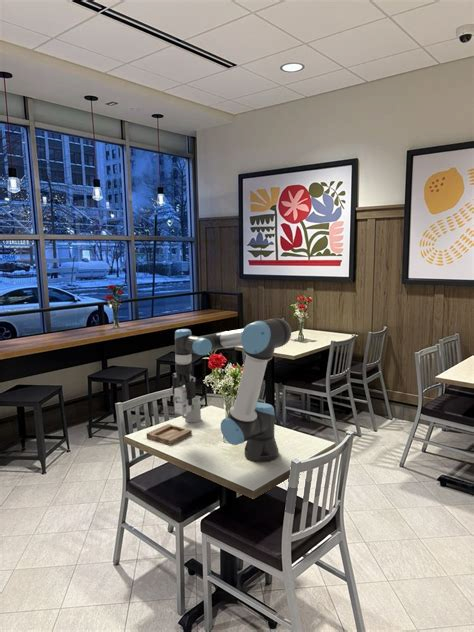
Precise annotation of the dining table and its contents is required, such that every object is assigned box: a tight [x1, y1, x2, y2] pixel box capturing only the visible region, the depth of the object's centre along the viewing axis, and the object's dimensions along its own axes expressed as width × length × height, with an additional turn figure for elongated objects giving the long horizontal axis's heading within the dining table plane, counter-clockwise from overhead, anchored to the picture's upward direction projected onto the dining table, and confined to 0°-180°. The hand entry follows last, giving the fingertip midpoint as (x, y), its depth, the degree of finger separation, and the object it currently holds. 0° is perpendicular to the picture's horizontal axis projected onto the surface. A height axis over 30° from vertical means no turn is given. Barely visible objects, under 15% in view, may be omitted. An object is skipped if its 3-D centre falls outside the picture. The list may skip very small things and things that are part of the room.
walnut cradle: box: [146, 423, 193, 446], centre depth 224 cm, size 16×15×2 cm
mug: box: [181, 397, 202, 424], centre depth 244 cm, size 12×8×11 cm
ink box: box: [174, 384, 194, 415], centre depth 214 cm, size 8×5×12 cm, turn 145°
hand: (184, 410), depth 215 cm, fingers closed on ink box, 5 cm apart
